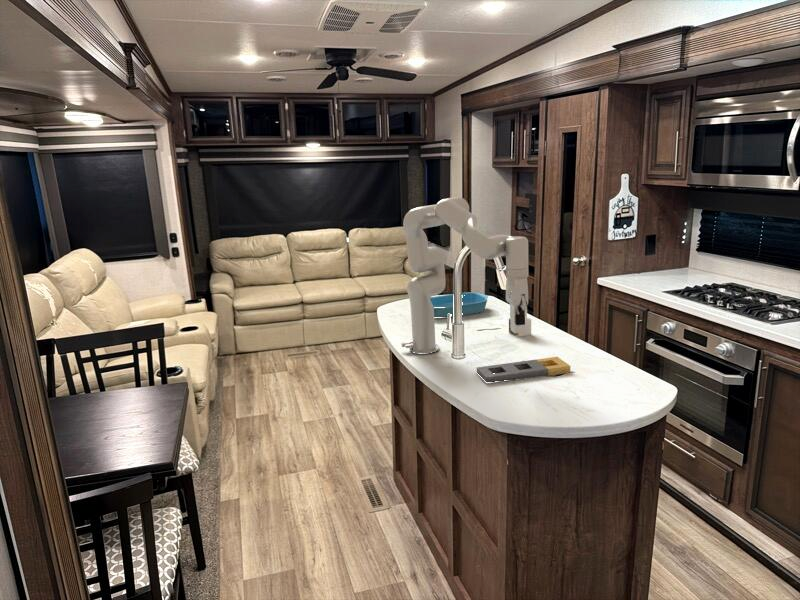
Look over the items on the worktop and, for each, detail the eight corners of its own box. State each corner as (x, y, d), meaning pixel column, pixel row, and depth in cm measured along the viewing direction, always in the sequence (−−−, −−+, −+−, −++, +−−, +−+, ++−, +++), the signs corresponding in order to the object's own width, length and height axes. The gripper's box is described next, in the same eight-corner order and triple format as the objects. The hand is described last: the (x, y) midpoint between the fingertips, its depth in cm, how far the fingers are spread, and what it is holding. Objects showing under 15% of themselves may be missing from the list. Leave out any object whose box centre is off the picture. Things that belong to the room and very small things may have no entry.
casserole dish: (427, 323, 267) (426, 309, 265) (413, 311, 288) (412, 298, 286) (495, 313, 277) (495, 299, 275) (477, 302, 297) (477, 290, 296)
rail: (486, 384, 192) (486, 377, 191) (476, 373, 201) (476, 367, 200) (570, 372, 197) (570, 365, 197) (557, 362, 207) (557, 356, 206)
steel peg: (514, 333, 192) (514, 306, 190) (510, 330, 196) (510, 303, 194) (525, 332, 193) (525, 304, 190) (521, 329, 197) (520, 302, 194)
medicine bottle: (508, 333, 244) (508, 307, 241) (521, 330, 247) (521, 304, 244) (518, 337, 238) (518, 311, 235) (531, 334, 240) (531, 308, 237)
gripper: (498, 269, 197) (499, 317, 201) (516, 278, 181) (516, 330, 185) (518, 267, 198) (518, 315, 202) (537, 276, 182) (537, 328, 186)
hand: (517, 322), depth 194 cm, fingers closed on steel peg, 4 cm apart
